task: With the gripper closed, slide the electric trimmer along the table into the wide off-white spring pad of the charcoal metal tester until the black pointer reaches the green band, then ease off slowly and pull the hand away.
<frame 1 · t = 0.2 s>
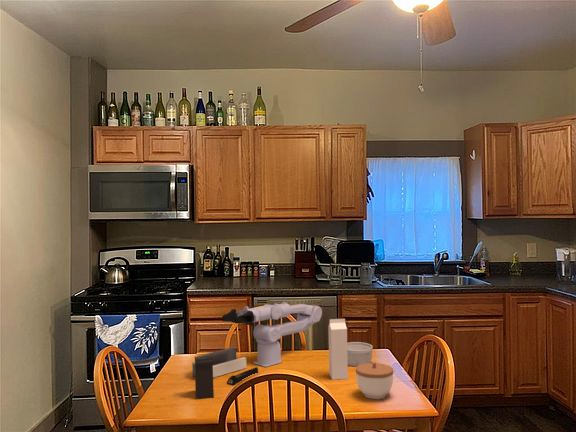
hand: (229, 319, 192), 22 cm above the table, tool horizontal, fingers open, 7 cm apart
ramekin: (356, 363, 205), on the table
phone stand: (204, 394, 172), on the table
milk: (338, 377, 187), on the table
spring pad: (224, 366, 193), point 3 cm above the table, slide at 0.0 cm
electric trimmer: (243, 380, 187), on the table
lidded bowl: (374, 395, 168), on the table
tester frame: (223, 371, 196), on the table
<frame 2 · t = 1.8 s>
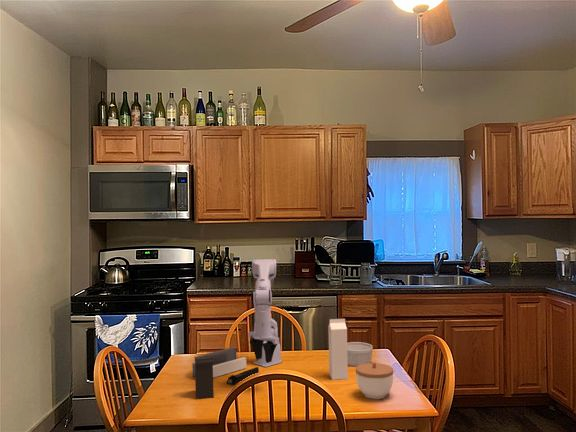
hand: (263, 360, 178), 9 cm above the table, tool pointing down, fingers open, 5 cm apart
nothing on the table moved.
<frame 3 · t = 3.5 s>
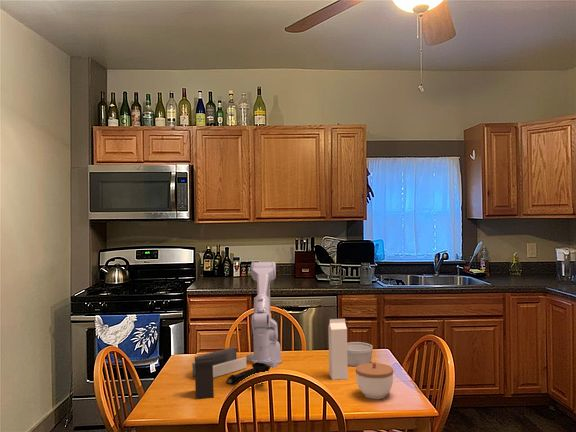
hand: (262, 383, 179), 1 cm above the table, tool pointing down, fingers closed
nothing on the table moved.
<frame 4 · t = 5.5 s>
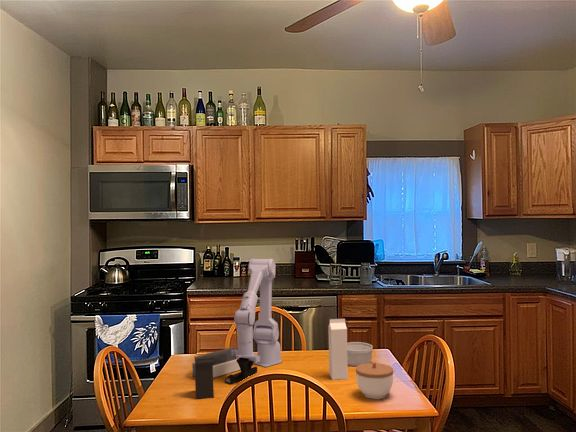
hand: (245, 377, 185), 1 cm above the table, tool pointing down, fingers closed
electric trimmer: (241, 379, 187), on the table, touching gripper
everything else where it was.
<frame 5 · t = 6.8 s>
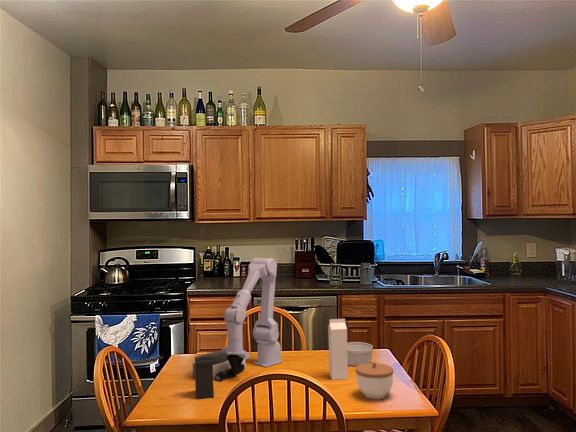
hand: (235, 374, 190), 1 cm above the table, tool pointing down, fingers closed
spring pad: (223, 365, 193), point 3 cm above the table, slide at 0.5 cm
electric trimmer: (229, 376, 191), on the table
everything else where it was.
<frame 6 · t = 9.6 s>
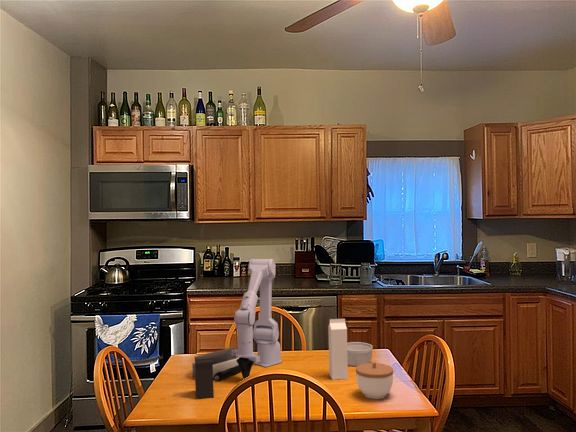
hand: (245, 377, 185), 1 cm above the table, tool pointing down, fingers closed
spring pad: (223, 365, 193), point 3 cm above the table, slide at 0.8 cm
everything else where it was.
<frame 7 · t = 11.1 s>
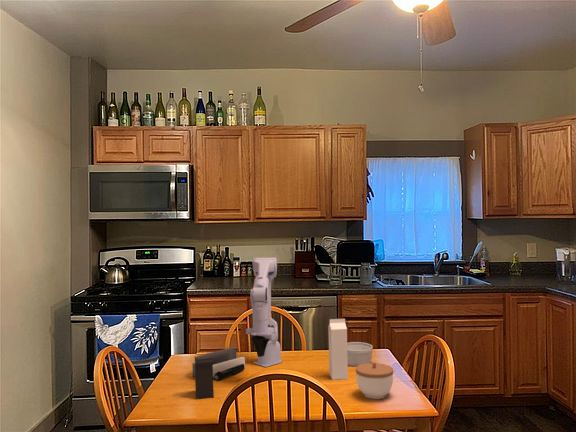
hand: (260, 356, 184), 9 cm above the table, tool pointing down, fingers closed
nothing on the table moved.
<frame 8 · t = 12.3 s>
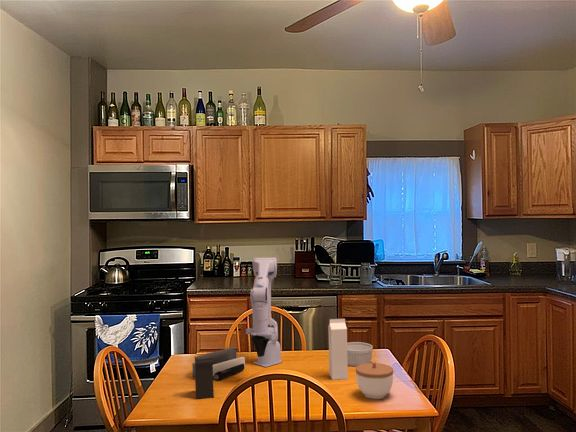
hand: (260, 356, 184), 9 cm above the table, tool pointing down, fingers closed
nothing on the table moved.
at the end: electric trimmer moved 7.8 cm from its start; electric trimmer inside the target area (2.2 cm from its centre), on the table; electric trimmer tilted 0° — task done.
